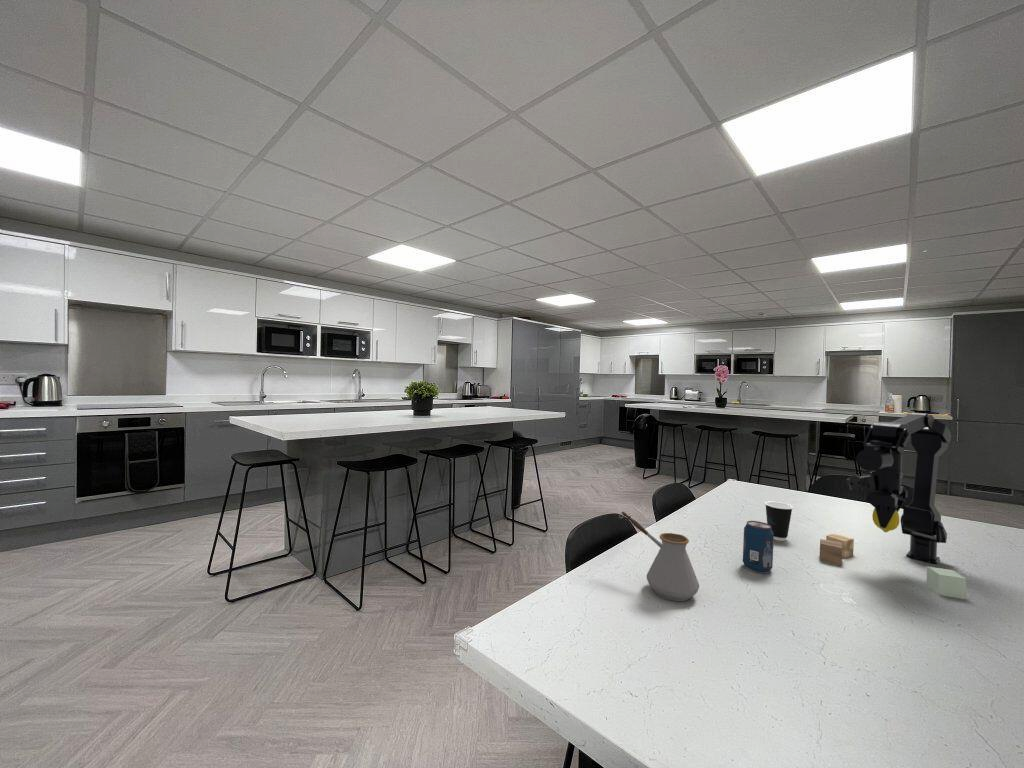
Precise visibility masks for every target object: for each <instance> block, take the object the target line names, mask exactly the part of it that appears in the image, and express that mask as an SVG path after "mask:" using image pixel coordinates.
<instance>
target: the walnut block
mask: <svg viewBox="0 0 1024 768" xmlns="http://www.w3.org/2000/svg"><path fill="white" fill-rule="evenodd" d="M819 561H820V562H824V563H829V564H834V565H838V566H843V565H842V564H843V557H842V543H839V542H834V541H829V540H826V539H823V538H820V539H819Z"/></svg>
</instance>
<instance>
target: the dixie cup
mask: <svg viewBox="0 0 1024 768" xmlns="http://www.w3.org/2000/svg"><path fill="white" fill-rule="evenodd" d="M764 505H765V514H766V516H765V517H766V523H767V524H769V525H771V529H772V531H773V533H774V539H773V541H774V540H776V541H780V542H785V541H787V538H788V536H789V531H790V530H789V529H790V524H791V523H790V522H791V517H792V512H793V508H794V506H792V504H788V503H785V502H779V501H772V500H771V501H765V502H764Z"/></svg>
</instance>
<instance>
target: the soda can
mask: <svg viewBox="0 0 1024 768" xmlns="http://www.w3.org/2000/svg"><path fill="white" fill-rule="evenodd" d="M742 542H743V544H742V545H743V547H742V548H743V549H742V562H743V565H744V567H745V568H746V569H747V570H750V571H752V572H755V573H758V574H768V573H770V572H771V570H772V569H773V565H774V563H773V562H774V533H773V531H772V529H771V525H769V524H767V522H763V521H757V520H747V521H746V524H745V526H744V527H743V541H742Z"/></svg>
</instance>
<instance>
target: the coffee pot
mask: <svg viewBox="0 0 1024 768" xmlns="http://www.w3.org/2000/svg"><path fill="white" fill-rule="evenodd" d="M621 515H622V516H621ZM620 516H621V517H620ZM618 517H620V519H622V518H624V517H625V518H626V520H627V521H630V523H631V524H632V525H633V526H634V527H635V528H636V529H638V530H639V531H640V532H641V533H643V534H644V535H645V536H647V537H648V538H649V539H650V540H651V541H652V542H654V543H655V544H656V546H658V547H659V550H658V552H657V554H656V556H655V557H654V560H653V562H652V564H651V566H650V567H649V570H648V571H647V573H646V580H647V582H648V584H649V586H650V587H651V589H653V590H654V592H655V594H657V595H658V596H660V597H662V598H663V599H666V600H670V601H674V602H685V601H688V600H689V599H690V598H692V597H693V596H695V595H696V594H697V593H698V591H699V588H700V584H699V581H698V578H697V575H696V572H695V570H694V568H693V565H692V562H691V560H690V558H689V554H688V551H687V550H686V548H687V544H689V543H690V540H689V539H688V537H686V536H685V535H682V534H678V533H672V532H664V533H661V534H660V535H659V539H660V540H661V542H660V541H659V540H658V539H657V538H655V537H654V536H653V535H652V534H650V532H649V531H648V530H646V529H645V528H644V527H643V526H642V525H641V524H640V523H639V522H638V521H636V520H635V519H634V518H632V516H631V515H628V514H627V513H626V512H625V511H621V512H620V513H619V515H618Z"/></svg>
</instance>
